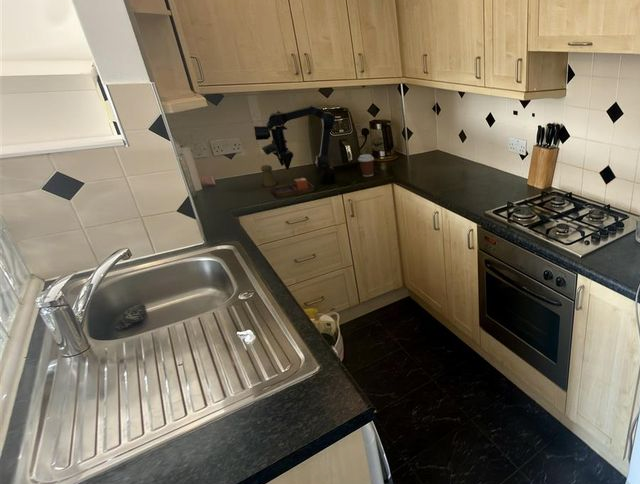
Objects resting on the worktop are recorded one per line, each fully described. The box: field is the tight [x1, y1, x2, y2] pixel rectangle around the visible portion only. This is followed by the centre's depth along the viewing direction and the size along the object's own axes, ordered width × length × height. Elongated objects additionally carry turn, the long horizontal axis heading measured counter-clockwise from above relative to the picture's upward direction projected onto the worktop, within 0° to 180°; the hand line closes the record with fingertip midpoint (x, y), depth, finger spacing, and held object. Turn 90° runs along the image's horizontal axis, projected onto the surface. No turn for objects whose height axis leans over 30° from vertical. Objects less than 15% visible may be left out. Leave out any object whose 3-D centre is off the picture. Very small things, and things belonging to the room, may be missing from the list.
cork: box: [260, 164, 277, 187], centre depth 225 cm, size 6×6×11 cm
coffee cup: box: [357, 153, 375, 178], centre depth 244 cm, size 9×9×12 cm
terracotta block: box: [293, 177, 308, 190], centre depth 219 cm, size 5×5×5 cm
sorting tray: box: [271, 180, 316, 199], centre depth 217 cm, size 18×12×2 cm, turn 131°
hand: (284, 167), depth 218 cm, fingers open, 9 cm apart
